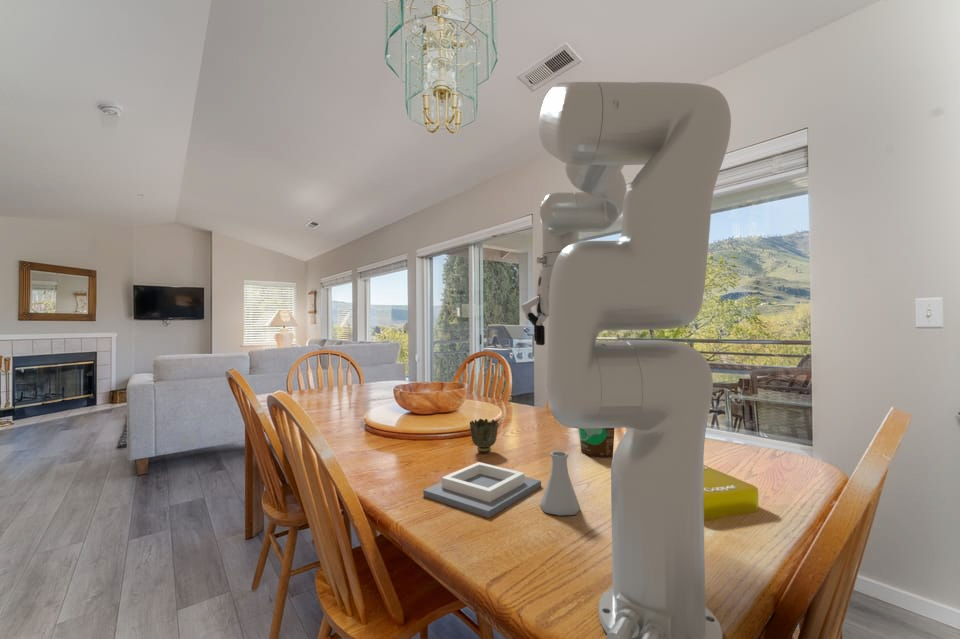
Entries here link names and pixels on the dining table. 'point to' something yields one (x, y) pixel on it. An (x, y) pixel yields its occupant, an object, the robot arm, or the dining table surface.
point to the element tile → (727, 495)
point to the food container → (597, 442)
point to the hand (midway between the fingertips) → (561, 344)
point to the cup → (484, 434)
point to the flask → (559, 488)
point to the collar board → (482, 488)
